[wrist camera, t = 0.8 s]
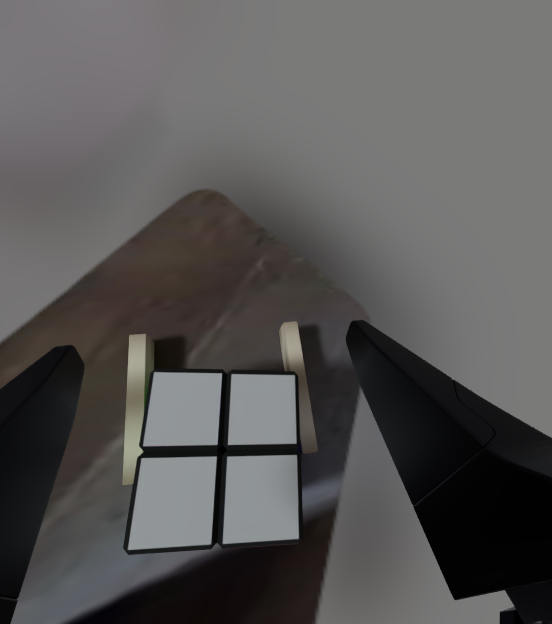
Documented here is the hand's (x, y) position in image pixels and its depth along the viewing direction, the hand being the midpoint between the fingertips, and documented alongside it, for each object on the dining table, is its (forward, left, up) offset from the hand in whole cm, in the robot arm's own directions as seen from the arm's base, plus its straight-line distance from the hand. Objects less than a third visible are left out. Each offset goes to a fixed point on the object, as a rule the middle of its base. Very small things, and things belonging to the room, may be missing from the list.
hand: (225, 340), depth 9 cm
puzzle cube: (-4, +1, -20) cm, 21 cm away
